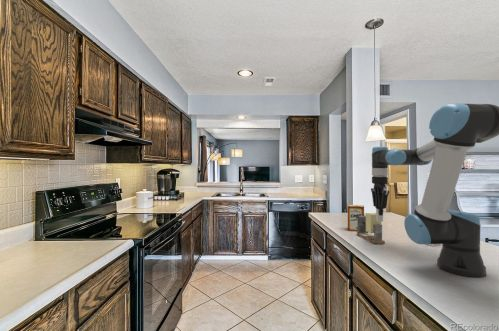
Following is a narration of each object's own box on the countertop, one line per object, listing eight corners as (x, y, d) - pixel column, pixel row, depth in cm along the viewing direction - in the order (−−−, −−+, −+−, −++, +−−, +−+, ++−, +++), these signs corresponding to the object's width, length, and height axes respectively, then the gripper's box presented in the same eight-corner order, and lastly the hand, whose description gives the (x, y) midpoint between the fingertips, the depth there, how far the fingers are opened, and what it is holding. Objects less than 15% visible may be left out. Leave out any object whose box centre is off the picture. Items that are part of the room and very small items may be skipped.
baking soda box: (347, 230, 163) (347, 205, 163) (347, 228, 170) (347, 204, 169) (364, 232, 160) (364, 206, 160) (363, 229, 166) (363, 204, 166)
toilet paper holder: (384, 244, 136) (384, 222, 136) (373, 244, 135) (373, 222, 135) (366, 234, 154) (366, 215, 154) (356, 235, 153) (356, 215, 153)
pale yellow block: (381, 233, 139) (381, 214, 139) (370, 233, 138) (370, 214, 138) (376, 230, 144) (376, 212, 144) (365, 230, 143) (365, 212, 143)
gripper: (394, 176, 129) (394, 223, 129) (379, 175, 142) (379, 218, 142) (380, 176, 128) (380, 224, 129) (366, 175, 141) (366, 218, 142)
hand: (379, 221), depth 136 cm, fingers closed
